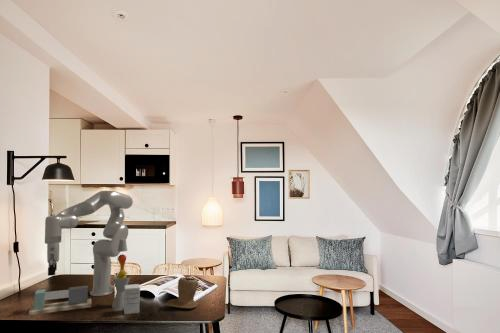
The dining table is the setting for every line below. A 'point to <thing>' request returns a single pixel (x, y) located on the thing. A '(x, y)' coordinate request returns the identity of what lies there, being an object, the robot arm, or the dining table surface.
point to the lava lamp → (120, 277)
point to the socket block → (39, 300)
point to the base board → (59, 307)
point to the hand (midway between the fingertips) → (52, 272)
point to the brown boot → (185, 294)
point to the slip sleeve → (78, 295)
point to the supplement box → (131, 298)
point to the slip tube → (56, 294)
